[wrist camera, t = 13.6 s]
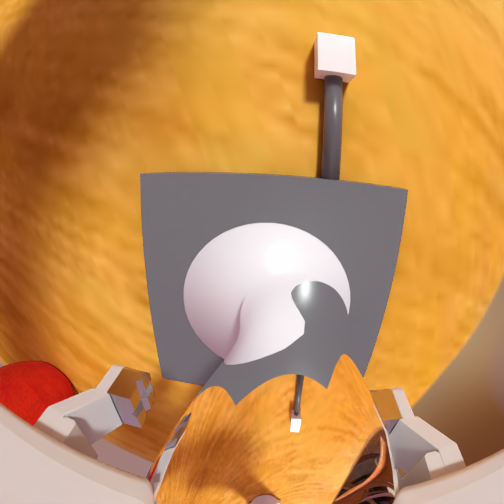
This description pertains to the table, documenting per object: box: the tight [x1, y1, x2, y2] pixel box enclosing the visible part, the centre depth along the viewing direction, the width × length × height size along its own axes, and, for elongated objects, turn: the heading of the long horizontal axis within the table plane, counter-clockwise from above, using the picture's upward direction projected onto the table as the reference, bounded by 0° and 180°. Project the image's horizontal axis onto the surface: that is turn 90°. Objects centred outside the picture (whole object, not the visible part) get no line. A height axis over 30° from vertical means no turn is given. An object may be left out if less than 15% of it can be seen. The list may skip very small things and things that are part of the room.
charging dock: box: [140, 32, 408, 385], centre depth 15 cm, size 23×15×2 cm, turn 178°
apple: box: [0, 361, 74, 426], centre depth 17 cm, size 12×12×13 cm
